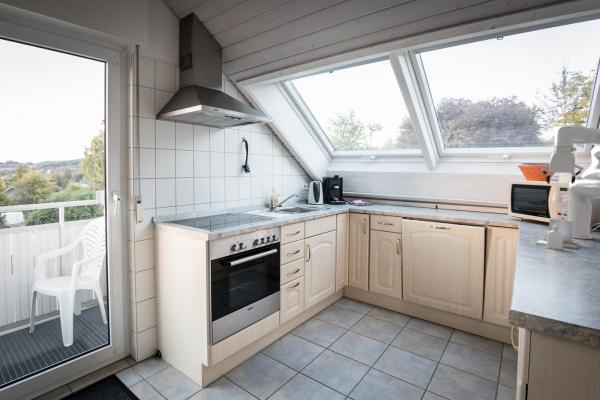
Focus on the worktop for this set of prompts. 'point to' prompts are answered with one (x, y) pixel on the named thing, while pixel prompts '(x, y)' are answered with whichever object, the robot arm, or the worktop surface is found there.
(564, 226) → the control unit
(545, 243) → the sage pad
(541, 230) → the worktop surface
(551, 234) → the eye dropper bottle
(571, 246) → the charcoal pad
